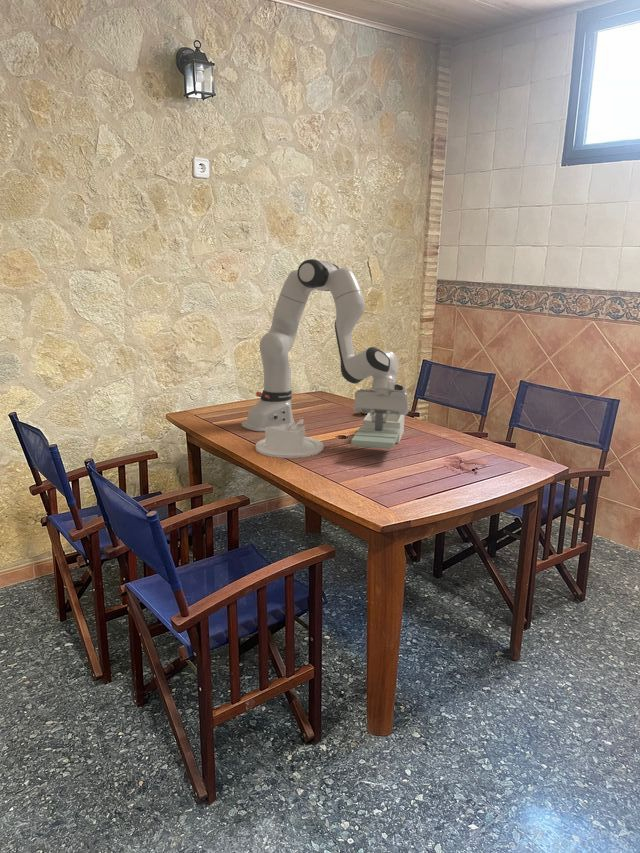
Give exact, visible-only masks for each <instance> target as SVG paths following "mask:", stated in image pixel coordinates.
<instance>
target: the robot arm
mask: <svg viewBox="0 0 640 853" xmlns="http://www.w3.org/2000/svg"><path fill="white" fill-rule="evenodd" d="M314 290H316V291H323V292H324V291H325V292H330V293H331V296H332V299H333V302H334V305H335V312H336V313H335V321H334V331H335V332H334V333H335V337H336V341H337V342H336V343H337V347H338V349H337V350H338V353H339V358H340V359H339V360H340V372H341V373H340V374H341V375H342V377H343V378H344V380H346V381H347V382H348V383H351V384H355V385H356V384H358V383H360V382H362V381H364V380H365V379H367V378H369V377H371V378H372V385H371V389H363V388H360V389H358V390H356V391H355V394H354V398H355V399H354V402H353V410H354V411H355V412H356V413H363V412H365V413H370V415H371V417H372V423H375V417H374V413H377V412H383V414H387V415H386V416H385V417H383V418H382V423H387V419H388V418H389V417H390V415H391V414H397V415H405V416H407V415H408V414H409V409H410V408H409V397H408V390H407V387H406V386H405V385H401V384H399V383H397V382H396V380H397V377H398V373H399V360H398V356H397V355H396V354H395V353H394V352H392V351H390V350H383V351H382V350H380V349H379V348H378V347H375V346H371V347H368V348H365V349H364V350H362V351H360V352H358V353H357V354H355V348H354V345H353V338H352V333H353V330H354V328H355V326H356V324H357V323H358V321H359V320H360V319H361V317H363V315H364V313H365V310H366V301H365V297H364V294H363V292H362V288H361V285H360V283H359V281H358V279H357V277H356V275H355V274H354V272H353V270H351V269H350V268H349V267H341V268H339V266H338V265H336V264H334V263H331V262H329V261H325V260H319V259H318V260H317V259H315V258H312V259H310V258H309V259H306V260H303V261H302V262H301V263H300V265H299V266H298V268H297V269H294V270H292V271H290V272H289V273H288V275H287V278H286V280H285V281H284V283H283V285H282V288H281V290H280V293H279V295H278V298H277V302H276V304H275V308H274V310H273V316H272V322H271V326H270V329H269V331H268V332H266V333H265V334H264V335H262V337H261V339H260V341H259V351H260V354H261V355H260V356H261V361H262V367H263V369H262V370H263V390H262V392H260V391H256V392H255V396H256V397H258V398H260V399H259V401H257V402H256V403H255V404H254V405H253V406H252V407H251V408H250V409H249V410H248V412H247V417H246V420H245V421H242V422H241V427H243V428H244V429H247V430H250V431H254V432H265V427H282V426H287V425H289V424H290V423H294V422H295V420H294V416H293V411H292V410H293V409H292V397H293V395H292V394H293V393H292V392H293V391H292V388H291V387H292V382H291V381H292V380H291V376H292V375H291V374H292V373H291V372H292V371H291V368H290V361H289V352H290V351H291V350H292V349H293V346H294V344H295V340H296V336H297V333H298V331H299V325H300V321H301V319H302V316H303V313H304V311H305V308H306V305H307V303H308V299H309V296H310V294H311V292H313V291H314Z"/></svg>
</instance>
